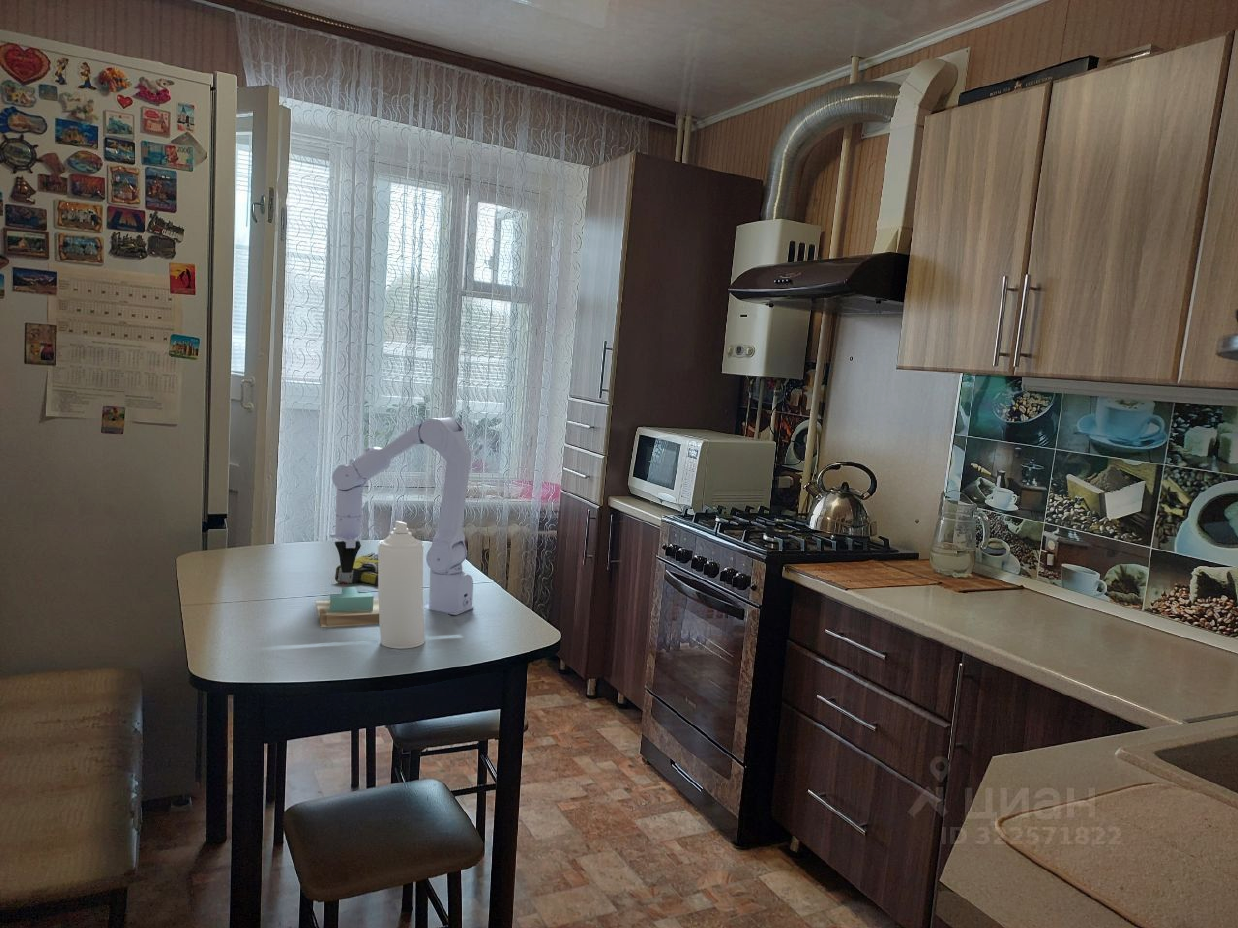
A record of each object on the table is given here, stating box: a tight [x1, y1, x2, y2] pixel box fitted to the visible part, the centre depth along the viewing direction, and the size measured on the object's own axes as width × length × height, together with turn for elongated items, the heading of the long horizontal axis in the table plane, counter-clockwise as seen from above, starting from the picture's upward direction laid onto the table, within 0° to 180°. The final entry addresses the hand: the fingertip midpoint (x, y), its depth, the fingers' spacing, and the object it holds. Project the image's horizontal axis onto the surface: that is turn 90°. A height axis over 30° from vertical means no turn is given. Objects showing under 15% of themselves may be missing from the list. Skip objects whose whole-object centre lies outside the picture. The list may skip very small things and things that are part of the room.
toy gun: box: [334, 552, 378, 588], centre depth 214 cm, size 5×24×15 cm
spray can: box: [377, 520, 426, 650], centre depth 161 cm, size 12×11×25 cm
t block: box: [329, 586, 375, 612], centre depth 184 cm, size 9×9×3 cm
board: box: [315, 597, 380, 628], centre depth 180 cm, size 20×14×3 cm
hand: (346, 572), depth 193 cm, fingers closed
